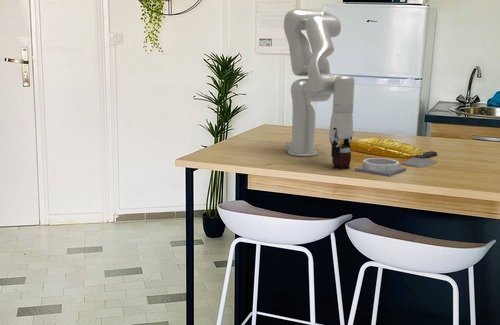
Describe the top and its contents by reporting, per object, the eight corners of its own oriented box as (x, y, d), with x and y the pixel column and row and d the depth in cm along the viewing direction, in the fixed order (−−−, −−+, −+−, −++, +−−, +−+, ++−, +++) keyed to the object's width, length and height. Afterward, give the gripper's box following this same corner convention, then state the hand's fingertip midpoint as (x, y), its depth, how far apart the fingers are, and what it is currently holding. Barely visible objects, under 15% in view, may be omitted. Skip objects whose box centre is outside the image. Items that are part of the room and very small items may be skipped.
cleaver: (425, 154, 259) (425, 149, 259) (447, 157, 254) (448, 152, 254) (399, 166, 236) (400, 161, 235) (424, 170, 230) (424, 164, 230)
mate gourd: (350, 170, 225) (351, 130, 221) (328, 169, 226) (330, 129, 223) (350, 166, 232) (352, 127, 229) (330, 165, 233) (331, 127, 230)
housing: (354, 170, 224) (355, 161, 223) (372, 165, 235) (373, 156, 234) (389, 176, 215) (389, 167, 215) (406, 170, 226) (406, 161, 225)
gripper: (345, 106, 233) (343, 151, 237) (321, 110, 220) (319, 157, 224) (363, 108, 229) (360, 153, 232) (339, 111, 215) (337, 160, 219)
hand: (340, 155), depth 228 cm, fingers closed on mate gourd, 7 cm apart
